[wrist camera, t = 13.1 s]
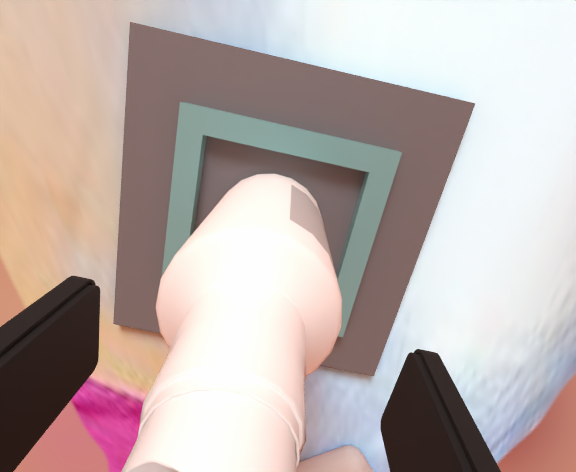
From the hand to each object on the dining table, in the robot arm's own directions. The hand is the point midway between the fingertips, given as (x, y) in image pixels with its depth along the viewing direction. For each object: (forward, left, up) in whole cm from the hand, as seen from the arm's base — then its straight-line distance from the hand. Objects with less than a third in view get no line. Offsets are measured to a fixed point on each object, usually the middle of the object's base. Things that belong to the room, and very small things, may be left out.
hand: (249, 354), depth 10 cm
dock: (0, 0, -14) cm, 14 cm away
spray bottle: (0, 0, -14) cm, 13 cm away
